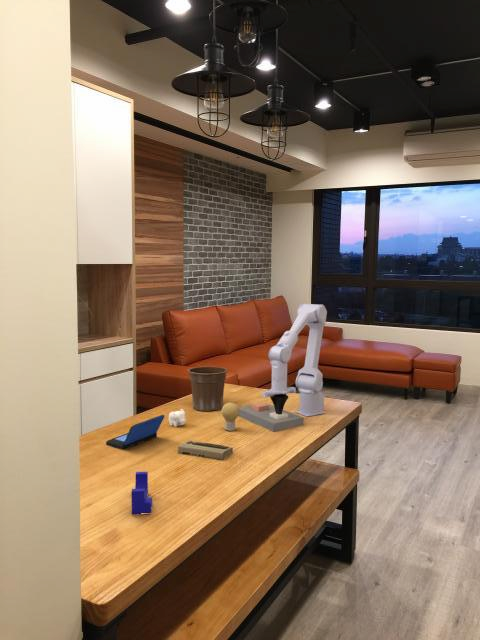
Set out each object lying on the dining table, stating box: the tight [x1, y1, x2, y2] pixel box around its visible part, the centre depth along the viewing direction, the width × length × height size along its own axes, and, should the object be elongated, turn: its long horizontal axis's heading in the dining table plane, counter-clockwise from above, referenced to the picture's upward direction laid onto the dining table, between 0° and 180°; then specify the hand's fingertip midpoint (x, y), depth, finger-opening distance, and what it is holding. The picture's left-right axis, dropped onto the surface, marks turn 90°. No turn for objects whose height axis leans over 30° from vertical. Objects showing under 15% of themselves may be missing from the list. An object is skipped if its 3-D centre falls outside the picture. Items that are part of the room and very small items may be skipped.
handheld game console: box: [105, 414, 165, 451], centre depth 179 cm, size 16×13×9 cm
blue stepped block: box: [130, 471, 153, 515], centre depth 134 cm, size 12×4×6 cm, turn 6°
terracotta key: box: [250, 401, 270, 412], centre depth 209 cm, size 5×5×3 cm
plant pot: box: [187, 365, 228, 412], centre depth 221 cm, size 16×16×16 cm
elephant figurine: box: [168, 408, 187, 428], centre depth 197 cm, size 7×8×6 cm
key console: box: [238, 402, 305, 433], centre depth 205 cm, size 14×24×3 cm, turn 34°
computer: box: [177, 440, 234, 461], centre depth 170 cm, size 16×8×3 cm, turn 68°
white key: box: [269, 412, 288, 419], centre depth 200 cm, size 5×5×3 cm
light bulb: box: [221, 402, 240, 432], centre depth 192 cm, size 6×6×10 cm
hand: (278, 413), depth 199 cm, fingers closed, pressing on white key
